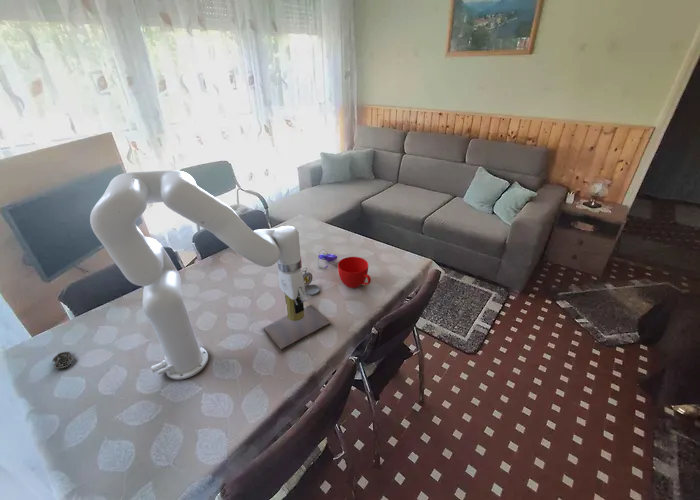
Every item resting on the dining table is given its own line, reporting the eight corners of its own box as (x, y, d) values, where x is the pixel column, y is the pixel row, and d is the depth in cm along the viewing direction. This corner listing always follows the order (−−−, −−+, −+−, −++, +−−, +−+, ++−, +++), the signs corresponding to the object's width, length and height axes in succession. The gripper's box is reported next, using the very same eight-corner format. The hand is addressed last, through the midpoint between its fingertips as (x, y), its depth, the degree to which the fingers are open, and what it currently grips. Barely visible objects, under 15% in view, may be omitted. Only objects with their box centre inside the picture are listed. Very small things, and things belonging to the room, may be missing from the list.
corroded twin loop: (70, 350, 108) (68, 348, 108) (76, 363, 104) (75, 361, 103) (51, 359, 105) (50, 357, 105) (57, 373, 101) (55, 370, 100)
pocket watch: (317, 297, 133) (315, 277, 128) (297, 294, 135) (295, 274, 130) (322, 285, 140) (321, 266, 135) (304, 283, 141) (302, 264, 136)
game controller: (334, 249, 160) (342, 254, 151) (331, 264, 161) (339, 271, 153) (315, 247, 155) (322, 253, 147) (312, 263, 157) (319, 270, 148)
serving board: (281, 351, 108) (281, 349, 108) (264, 329, 117) (263, 327, 116) (329, 324, 119) (329, 322, 118) (310, 307, 128) (310, 305, 127)
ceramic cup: (358, 301, 131) (358, 281, 125) (332, 282, 142) (331, 263, 137) (380, 288, 138) (381, 269, 133) (354, 272, 149) (354, 253, 144)
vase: (306, 310, 117) (303, 278, 110) (302, 321, 112) (299, 288, 105) (289, 309, 118) (285, 277, 111) (285, 320, 113) (280, 287, 105)
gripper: (267, 256, 108) (273, 299, 117) (293, 280, 96) (298, 325, 105) (286, 249, 112) (292, 291, 121) (314, 271, 100) (317, 315, 109)
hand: (294, 306), depth 113 cm, fingers closed on vase, 5 cm apart
